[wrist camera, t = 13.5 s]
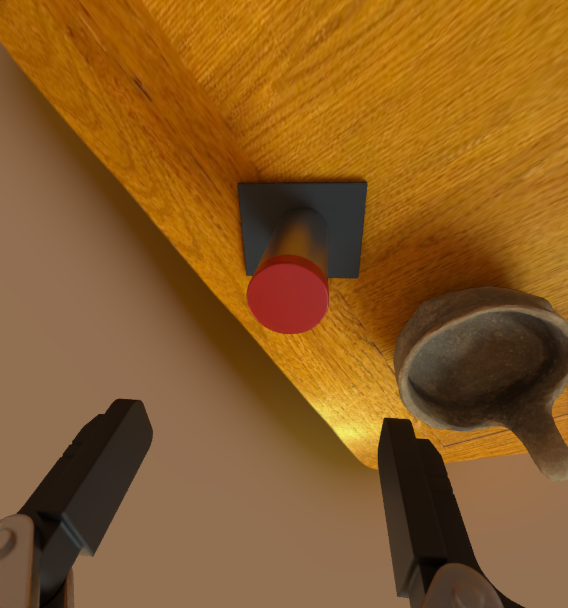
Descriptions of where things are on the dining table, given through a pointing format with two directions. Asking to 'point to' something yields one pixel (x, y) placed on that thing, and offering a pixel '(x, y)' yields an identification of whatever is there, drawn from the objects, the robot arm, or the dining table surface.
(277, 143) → the dining table surface
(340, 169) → the dining table surface
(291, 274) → the jar
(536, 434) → the bowl
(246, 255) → the mat
